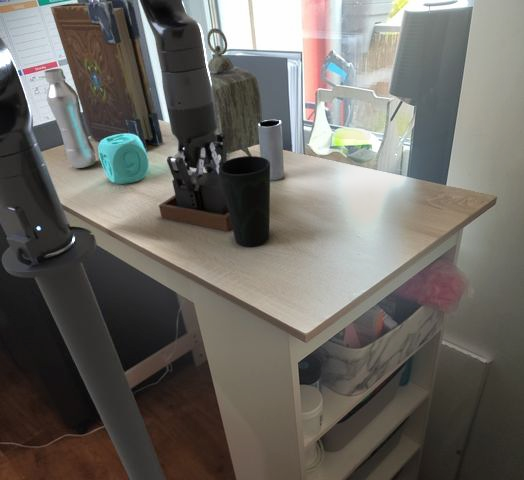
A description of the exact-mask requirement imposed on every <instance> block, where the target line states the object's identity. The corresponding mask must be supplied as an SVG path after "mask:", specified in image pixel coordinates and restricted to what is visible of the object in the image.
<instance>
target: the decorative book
mask: <svg viewBox="0 0 524 480" xmlns="http://www.w3.org/2000/svg"><path fill="white" fill-rule="evenodd" d="M133 1H134V0H105V1H89V2H75V3H73V2H71V3H65V4H60V5H53V6H50V10H51V13H52V16H53V21H54V23H55V27H56V30H57V33H58V37H59V39H60V42H61V46H62V49H63V52H64V55H65V59H66V61H67V64H68V68H69V71H70V74H71V78H72V81H73V83H74V87H75V92H76V93H77V95H78V99H79V104H80V108H81V109H82V113H83V117H84V118H85V123H86V126H87V129H88V132H89V135H90V138H91V139H92V140H96V141H101V140H102V139H104V138H106V137H109V136H112V135H117V134H126V133H129V134H135V135H136V136H138V137H139V139H140V140H141V142H142V143H143V145H144V148H145V150H146V152H147V151H148V148H147V144H149V145H153V146H157V147H159V146H162V145H164V139H163V134H162V131H161V126H160V122H159V117H158V112H156V111H155V106H154V102H153V97H152V96H153V95H152V92H151V88H150V83H149V79H148V74H147V69H146V65H145V60H144V56H143V51H142V47H141V43H140V39H141V33H140V29H139V25H138V19H137V15H136V11H135V5H134V2H133Z"/></svg>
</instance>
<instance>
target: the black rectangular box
mask: <svg viewBox="0 0 524 480" xmlns="http://www.w3.org/2000/svg"><path fill="white" fill-rule="evenodd" d="M182 181H183V180H182ZM171 182H172V187H173V192H174V195H175V196H176V201H177V206H178V207H183V208H188V209H192V208H191V205H190V200H189V195H188V192H187V191H183V190H178V188H177V186H176V183H175V180H174V179H172V180H171ZM191 182H192V183H194V176H191ZM183 183H184V181H183ZM200 190H201V194H202V199H203V205H204V210H202V211H205V212H211V213H216V214H222V215H225V214H227V213H228V212H229V211H228V207H227V203H226V199H225V194H224V190H223V186H222V182H221V178H220V175H219V174H212V173H207V172H206V171H203V176H202V177H201V180H200Z"/></svg>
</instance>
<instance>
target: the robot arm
mask: <svg viewBox="0 0 524 480" xmlns="http://www.w3.org/2000/svg"><path fill="white" fill-rule="evenodd" d="M139 2H140V3H139V4H140V6H141V8H142V10H143V13H144V15H145V19H146V21H147V23H148V26H149V28H150V30H151V32H152V35H153V37H154V41H155V48H156V52H157V57H158V62H159V68H160V70H161V71H160V72H161V83H162V90H163V96H164V100H165V101H164V102H165V105H166V110H167V114H168V119H169V120H168V121H169V125H170V130H171V134H172V135H173V136H174V137H175V138H176V140H177V145H178V146H177V153H176V154H174V156H171V155H170V156H168V157H167V159H166V162H167V165H168V168H169V170H170V173H171V175H172V178H173V180H175V183H176V186H177V188H178V190H183V191H187V192H188V195H189V200H190V205H191V208H192V209H194V210H200V211H202V210H204V205H203V199H202V194H201V190H200V180H201V177H202V176H203V172H204V170H205V173H212V174H219V175H220V173H219V167H220V165H221V164H222V163H224V162H225V161H227V160H228V154H227V136H226V134H225V133H214V132H215V131H216V130H217V127H218V124H217V117H216V111H215V103H214V97H213V90H212V83H211V78H210V75H209V71H208V61H207V54H206V48H205V41H204V34H203V29H202V27H201V25H200V23H199V22H198V21H197V20H196V19H194V18H193V17H191V16H190V15H189V14H188V13H187V11H186V7H185V4H184V2H183V0H139ZM34 131H35V130H34V117H33V113H32V109H31V106H30V103H29V100H28V97H27V94H26V91H25V88H24V84H23V81H22V80H21V76H20V73H19V71H18V68H17V65H16V63H15V60H14V58H13V56H12V53H11V51H10V49H9V48H8V45H6V42H5V41H4V39H2V36H0V225H1V226H2V229H3V231H4V233H5V235H6V237H5V238H6V241H7V243H8V245H9V247H11V249H12V251H13V253H14V254H15V255H16V257H17V259H18V260H19V262H21V263H23V264H26V265H28V266H30V265H31V263H32V262H31V261H33V262H37V263H41V262H43V261H45V260H48V259H52V258H55V257H58V256H60V255H62V254H64V253H66V252H68V251H69V250H71V249H72V248H73V247H74V245H75V243H76V240H75V237H74V235H73V233H72V231H71V230H72V229H71V228H70V226H71V224H70V222H69V221H68V218H67V216H66V213H65V210H64V207H63V205H62V202H61V199H60V198H59V194H58V193H57V189H56V187H55V184H54V182H53V178H52V177H51V174H50V171H49V169H48V166H47V164H46V161H45V158H44V155H43V154H42V153H43V152H42V151H41V148H40V145H39V142H38V140H37V137H36V135H35V132H34ZM219 157H220V158H219ZM220 159H221V162H220ZM191 169H196V170H191ZM191 176H194V183H192V182H191ZM182 180H183V181H184V183H183V181H182ZM29 260H30V261H29Z"/></svg>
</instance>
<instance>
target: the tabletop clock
mask: <svg viewBox="0 0 524 480" xmlns="http://www.w3.org/2000/svg"><path fill="white" fill-rule="evenodd" d="M215 33H216V34H218V35H219V36H220V37H221V39H222V40H223V42H224V48H223V49H221V48H222V47H221V45H216V46H215V47H213V46H212V44H211V36H212V34H215ZM207 44H208V47H209V49H210V51H211V52H212V53H213V54H215V56H214V57H212V58H211V59H210V60H209V62H208V63H207V66H208V71H209V75H210V78H211V83H212V90H213V97H214V103H215V111H216V117H217V124H218V127H217V130H216V131H215V132H214V133H225V134H226V136H227V155H231V154H232V153H235V152H238V151H242V152H243V153H245V154H246V156H253V155H252V154H251V152H250V150H249V148H251V147H254V146H257V145H260V144H259V133H258V124H259V123H260V122H262V121H263V111H262V110H263V109H262V102H261V93H260V87H259V83H258V80H257V76H255V74H253V73H252V72H251V71H249V70H247V69H244V68H242V67H237V66H234V64H233V63H232V61H231V59H230V58H228V57H227V56H225V55H224V54H226V53H227V50H228V40H227V37H226V36H225V33H224V32H223V31H222V30H221V29H220V28H217V27H216V28H215V27H213V28H211V29H210V30H209V31H208V32H207ZM219 161H220V162H221V158H219Z"/></svg>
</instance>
